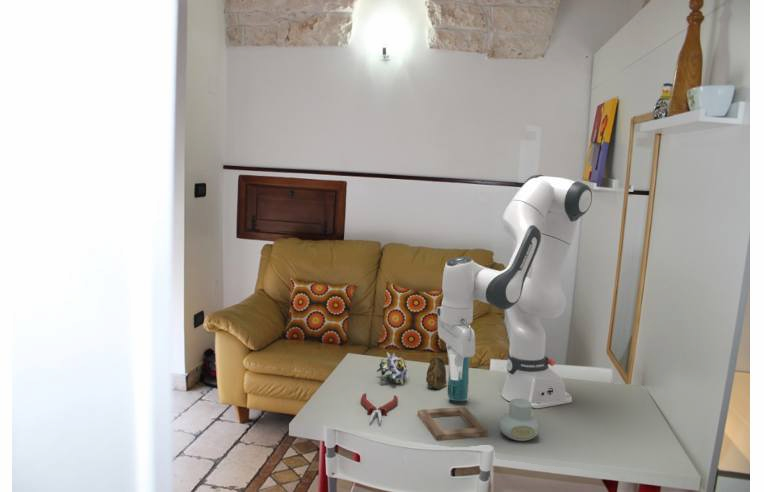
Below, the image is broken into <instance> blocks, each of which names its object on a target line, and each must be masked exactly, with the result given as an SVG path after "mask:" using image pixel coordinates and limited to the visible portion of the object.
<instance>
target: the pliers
mask: <svg viewBox="0 0 764 492" xmlns="http://www.w3.org/2000/svg"><path fill="white" fill-rule="evenodd" d="M398 402H399V401H398V396H397V395H396V394H395V395H393V398H392V400H391V401H390V400H389V402H387V403H385V404H383V405H381V406H379V407H378V408H377V407H376V406H374V404H372V403H371V402H370V400H368V399H367V393H366V392H365V393H363V394H362V395H361V398H360V403H361V406H362V407H363V408H365V409H366V410H367V411H366V412H367V413H366V414H367V415H368V416H370V419H369V425H372V423H373V422H375V421H374V420H376V419H375V418H377V422H378V424H379V425H381V423H382V419H383V417H382V416H384V417H386V416H388V412H390V411H391V410H393V409H395V408H396V407H397V406H398V405H399V404H398Z"/></svg>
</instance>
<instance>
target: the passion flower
mask: <svg viewBox="0 0 764 492" xmlns="http://www.w3.org/2000/svg"><path fill="white" fill-rule="evenodd" d="M395 354H396V353H393V354H392V355H391V354H390V353H389V352H388V351H386V358H387V359H386V361H385V359H383V358H381V359H380V363H379V368H377V370H376V373H378V372H380V379H382V377H383V376H384V375H385V374H386V373H387V372H388V371H390V372H391V374H390V375H389V379H390V380H394V381H393V382H395V383H396V384H398V383H399V384H401V385H403V384H404V378H408V375H407V372H408V369H407V366H408V365H407V362H406V359H405V357H399V356H396V355H395Z"/></svg>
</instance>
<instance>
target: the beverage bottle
mask: <svg viewBox="0 0 764 492" xmlns="http://www.w3.org/2000/svg"><path fill="white" fill-rule="evenodd" d="M469 371H470V357H464V359H463V369H462V379H461V380H451V379H450V371H449V370H448V380H447V381H448V383H447V397H448V398H449V399H450V400H452V401H456V402H457V401H458V402H459V401H460V402H463V401H465V400H467V398H468V396H469V395H468V394H469V375H470V374H469V373H470V372H469Z"/></svg>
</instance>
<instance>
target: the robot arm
mask: <svg viewBox="0 0 764 492" xmlns="http://www.w3.org/2000/svg"><path fill="white" fill-rule="evenodd" d="M592 201H593V192H592V190H591V187H590V186H589V185H588V184H585V183H584V182H582V181H577V180H572V179H569V178H566V177H565V178H564V177H560V176H559V177H558V176H548V175H546V176H545V175H542V174H536V175H531V176H530V177H529V178H527V179H526V180H525V181H524V182H523V185H522V186H521V187H520V188H519V190H518V191H517V192H516V194H514V196H513V197H512V198H511V200H510V202H509V204H508V205H507V207H506V208H505V210H504V212H503V214H502V218H501V219H502V225H503V228H504V230H505V232H506V233H507V235H509V236H510V237H511V238H512V239H513V240H514V241H515V242H516V247H515V249H514V251H513V253H512V256H511V258H510V260H509V263H508V265H507V267H505V269H503V270H496V269H493V268H491V267H486V266H484V265H480V264H479V263H477V262H475V261H474V260H473V258H471V257H469V256H454V257H451V258H449V259H448V260H447V261H445V265H444V268H443V273H442V284H441V285H442V287H441V289H442V293H443V295H442V300H441V305H440V306H437V307H436V315H437V334H438V337H439V338H440V340H442V341H443V342H444V343H445V344H446V345H445V347H446V346H447V347H446V352H447V353H448V350H449V349H450V348H452V349H454V350H455V351H456V355H457V356H456V359H455V365H456V366H457V367H460V366H462V363H463V359H464V357H469V358H473V357H474V356H475V354H476V335H475V330H474V329H473V328H472V327H471V324H472V323H473V321H474V319H473V317H474V301H476V300H477V301H480V302H482V303H486V304H489V305H491V306H493V307H495V308H498V309H499V310H505V311H506V314H507V318H508V319H507V320H508V323H509V352H508V353H507V358H506V376H505V382H504V385H503V387H502V390H501V393H500V396H501V397H502V398H503V399H504V400H506V401H508V402H510V401H511V400H512V399H525V400H527V401H529V402H530V403H531V408H533V409H542V408H548V407H553V406H559V405H565V404H570V403H573V397H572V395H571V394H570V393H569V392H567V391H566V386H565V382H564V380H563V378H561V377H560V375H558V374H557V373H556V372H555V371H554V370H552V369H551V368H550V367H549V366H551V367H553V366H554V365H556V361H555V359H553V358H552V357H551V358H550V357H547V356H546V355H545V353H546V337H547V335H546V331H545V329H544V327H543V326H542V324H541V322H540V319H546V320H547V319H549V320H554V319H555V320H556V319H557V318H559V317H560V316H561V315H562V314H563V313H564V311H565V308H566V306H567V299H566V295H565V293H564V291H563V289H562V272H563V267H564V263H565V262H566V259H567V255H568V253H569V251H570V248H571V245H572V242H573V239H574V236H575V233H576V228H577V223H578V220H579V219H580V218H581V217H583V216H584V215H585V214H586V213H587V211H588V210H589V209H590V207H591V205H592ZM530 269H531V275H530V277H528V273H529V271H530ZM447 358H448V360H449V355H448V354H447Z"/></svg>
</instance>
